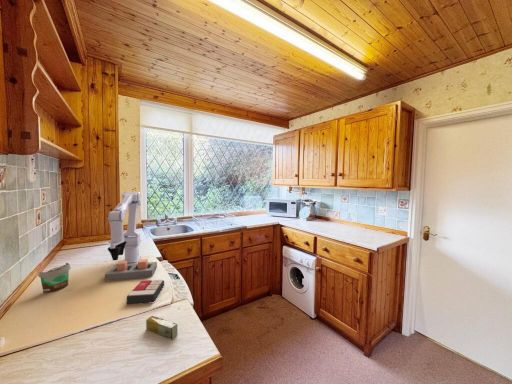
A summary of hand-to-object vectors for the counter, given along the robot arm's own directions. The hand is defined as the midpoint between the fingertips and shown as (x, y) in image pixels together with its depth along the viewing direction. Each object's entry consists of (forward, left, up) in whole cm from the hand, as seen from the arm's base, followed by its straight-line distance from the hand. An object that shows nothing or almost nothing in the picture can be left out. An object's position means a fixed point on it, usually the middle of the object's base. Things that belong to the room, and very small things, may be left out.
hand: (118, 257), depth 117 cm
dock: (+2, +8, -9) cm, 12 cm away
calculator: (+26, +20, -10) cm, 34 cm away
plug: (+2, +2, -8) cm, 9 cm away
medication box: (+53, +31, -10) cm, 62 cm away
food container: (+11, -21, -10) cm, 26 cm away
